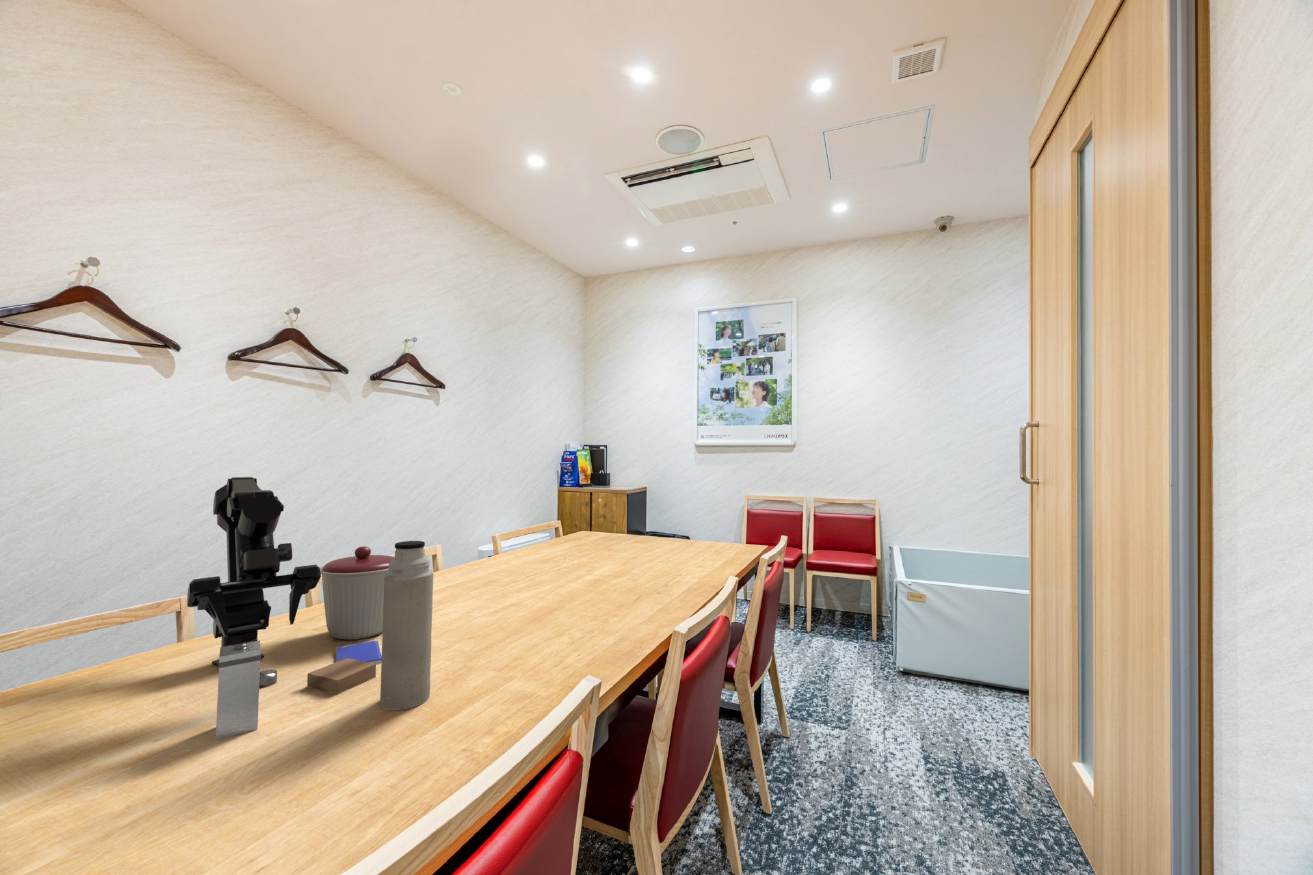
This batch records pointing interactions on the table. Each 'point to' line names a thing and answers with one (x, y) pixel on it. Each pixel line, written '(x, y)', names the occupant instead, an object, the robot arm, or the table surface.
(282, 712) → the table surface
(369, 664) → the stand
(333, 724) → the table surface
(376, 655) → the hard drive
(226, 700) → the plate
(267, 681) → the steel puck
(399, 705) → the thermos bottle
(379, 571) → the canister
